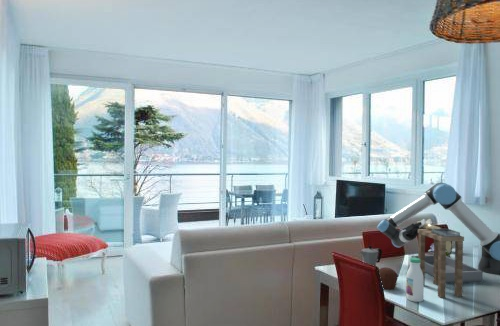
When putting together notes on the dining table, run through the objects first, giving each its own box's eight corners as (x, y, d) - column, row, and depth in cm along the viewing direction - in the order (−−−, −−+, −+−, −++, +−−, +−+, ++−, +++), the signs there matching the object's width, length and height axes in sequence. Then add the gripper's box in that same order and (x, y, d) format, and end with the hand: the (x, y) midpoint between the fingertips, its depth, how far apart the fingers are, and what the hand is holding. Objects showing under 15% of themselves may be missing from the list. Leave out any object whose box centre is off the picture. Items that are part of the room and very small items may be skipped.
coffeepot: (365, 280, 216) (366, 248, 216) (355, 275, 225) (355, 244, 225) (387, 276, 222) (387, 245, 222) (376, 272, 231) (376, 242, 231)
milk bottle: (422, 297, 190) (423, 257, 190) (424, 303, 183) (424, 261, 183) (405, 295, 193) (406, 255, 192) (406, 301, 186) (407, 259, 185)
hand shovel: (411, 226, 219) (411, 221, 219) (426, 225, 220) (426, 220, 220) (442, 236, 190) (443, 231, 190) (459, 236, 191) (460, 230, 191)
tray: (411, 265, 245) (411, 255, 245) (443, 264, 248) (443, 254, 248) (445, 283, 211) (445, 272, 210) (482, 282, 213) (482, 271, 213)
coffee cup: (454, 253, 276) (454, 236, 275) (440, 252, 277) (440, 236, 277) (450, 250, 285) (450, 233, 284) (436, 249, 287) (436, 233, 286)
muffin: (370, 284, 209) (370, 266, 209) (387, 282, 213) (387, 264, 212) (385, 292, 198) (385, 272, 197) (402, 289, 202) (403, 270, 201)
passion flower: (436, 264, 266) (425, 250, 267) (436, 258, 275) (426, 244, 277) (451, 257, 261) (440, 242, 262) (451, 251, 270) (440, 236, 271)
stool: (417, 283, 210) (417, 229, 210) (437, 283, 212) (438, 228, 211) (440, 298, 189) (441, 237, 189) (463, 297, 191) (464, 236, 190)
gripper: (422, 240, 230) (443, 227, 210) (397, 241, 228) (416, 227, 208) (418, 228, 234) (439, 214, 213) (394, 229, 232) (412, 214, 211)
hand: (427, 221), depth 210 cm, fingers closed on hand shovel, 3 cm apart
